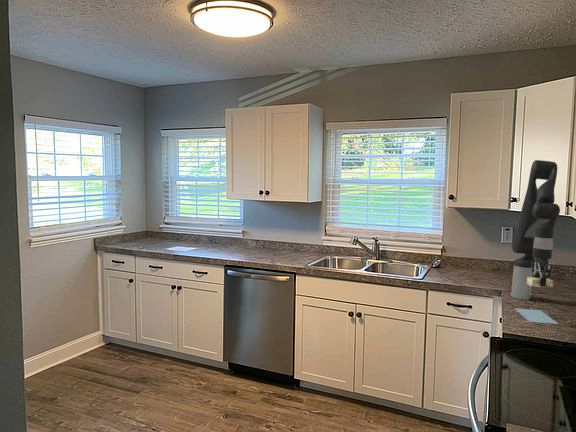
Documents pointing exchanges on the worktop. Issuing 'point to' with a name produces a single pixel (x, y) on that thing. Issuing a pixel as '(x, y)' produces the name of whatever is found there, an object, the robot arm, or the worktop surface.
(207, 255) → the worktop surface
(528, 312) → the mat
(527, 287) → the robot arm
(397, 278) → the worktop surface
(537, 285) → the cream notched block
